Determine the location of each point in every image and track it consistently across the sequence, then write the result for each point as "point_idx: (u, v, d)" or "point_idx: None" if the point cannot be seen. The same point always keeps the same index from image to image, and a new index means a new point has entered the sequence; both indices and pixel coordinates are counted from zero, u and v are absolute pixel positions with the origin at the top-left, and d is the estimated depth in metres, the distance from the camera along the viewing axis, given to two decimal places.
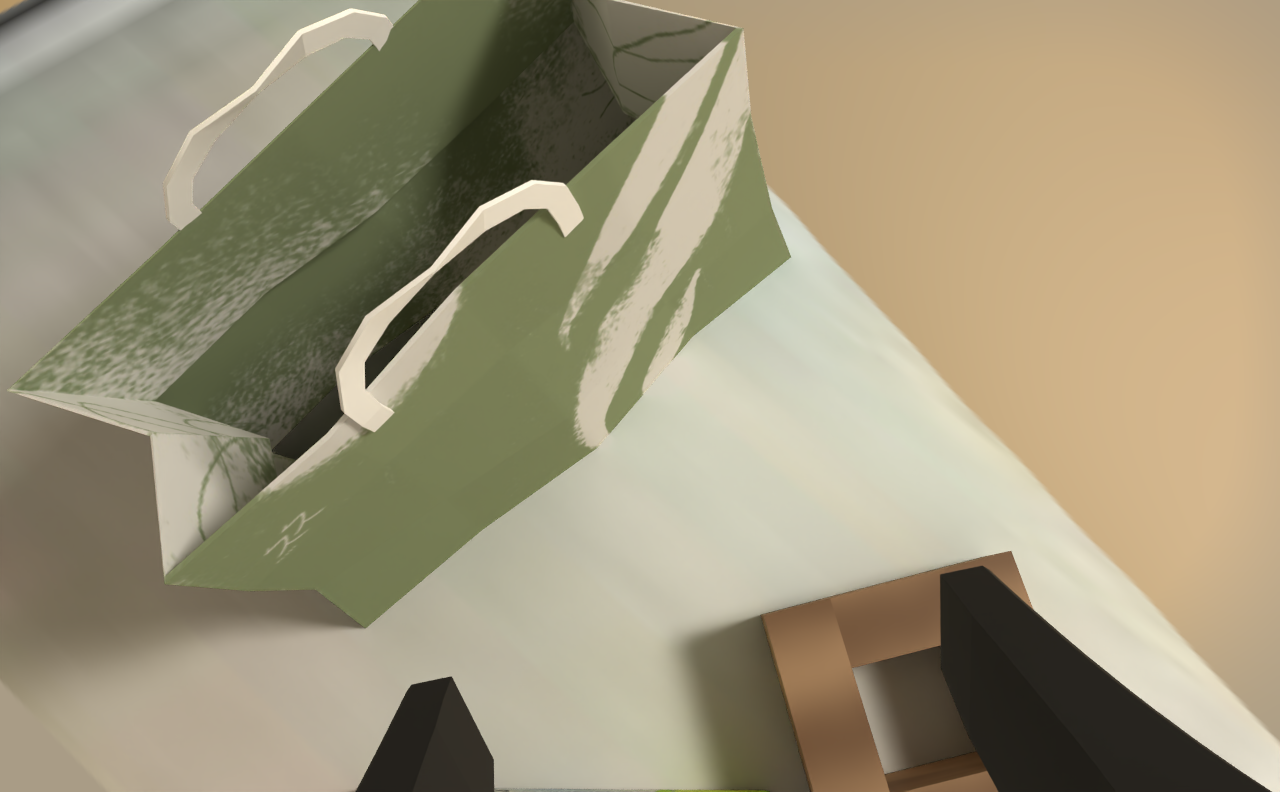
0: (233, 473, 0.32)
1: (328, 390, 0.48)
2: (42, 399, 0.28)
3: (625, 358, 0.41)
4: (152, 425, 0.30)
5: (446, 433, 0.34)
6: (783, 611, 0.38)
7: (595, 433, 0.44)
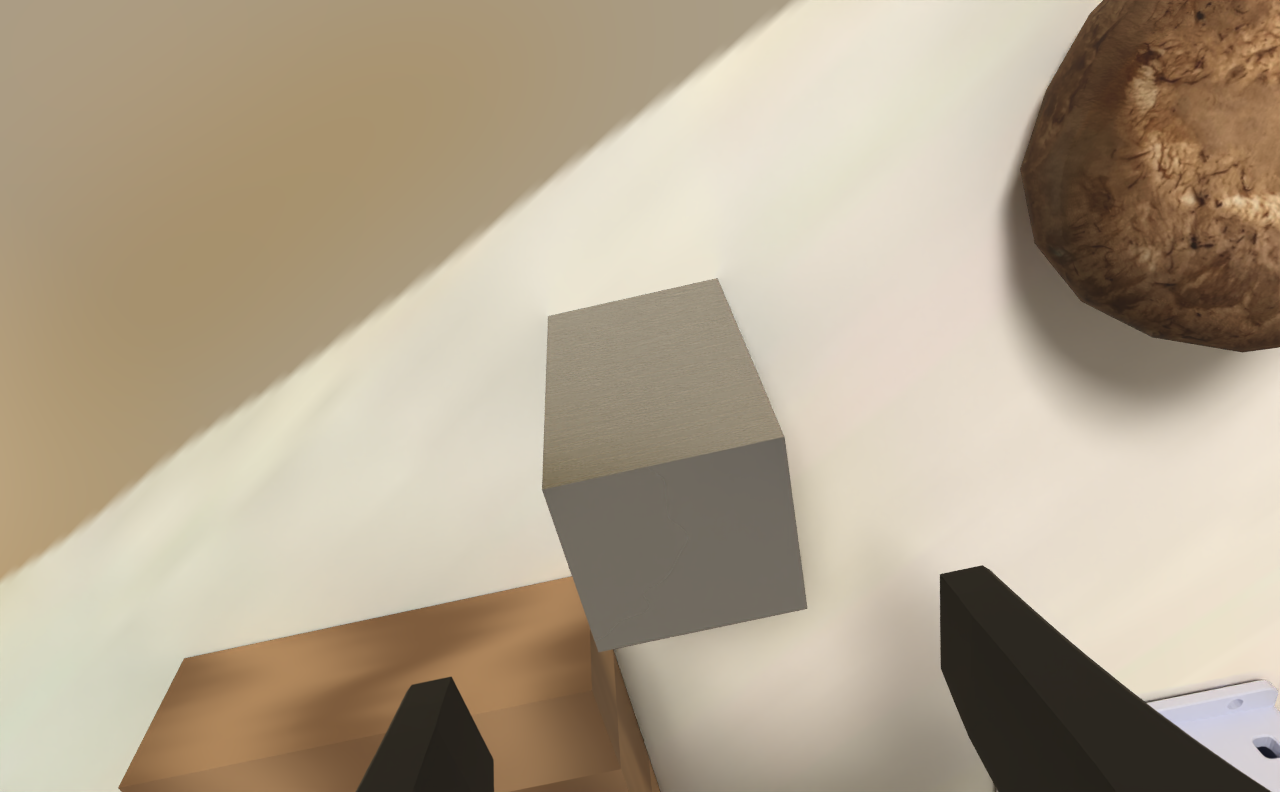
0: None
1: None
2: None
3: None
4: None
5: None
6: None
7: None
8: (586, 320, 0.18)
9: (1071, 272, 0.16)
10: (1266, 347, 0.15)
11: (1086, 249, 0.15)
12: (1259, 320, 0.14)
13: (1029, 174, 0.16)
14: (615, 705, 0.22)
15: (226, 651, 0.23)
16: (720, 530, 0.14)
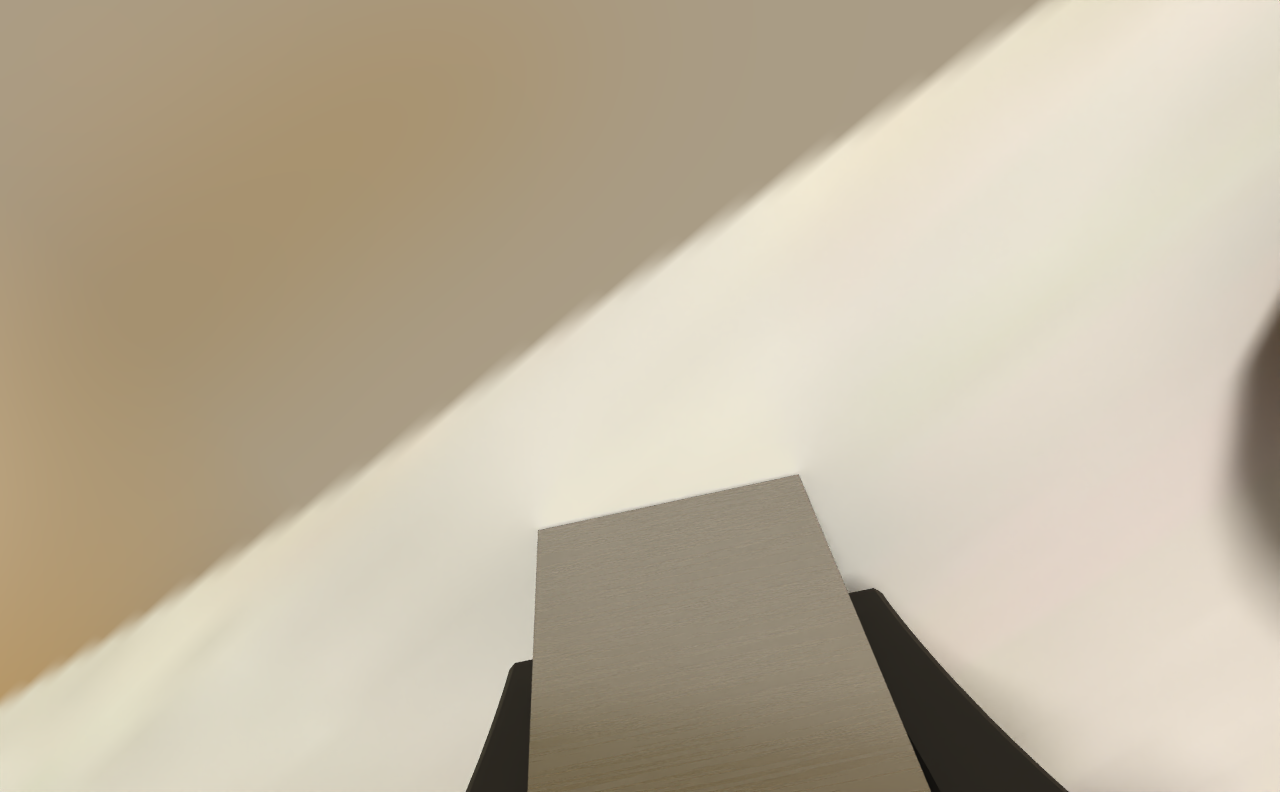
0: None
1: None
2: None
3: None
4: None
5: None
6: None
7: None
8: (597, 548, 0.11)
9: None
10: None
11: None
12: None
13: None
14: None
15: None
16: None
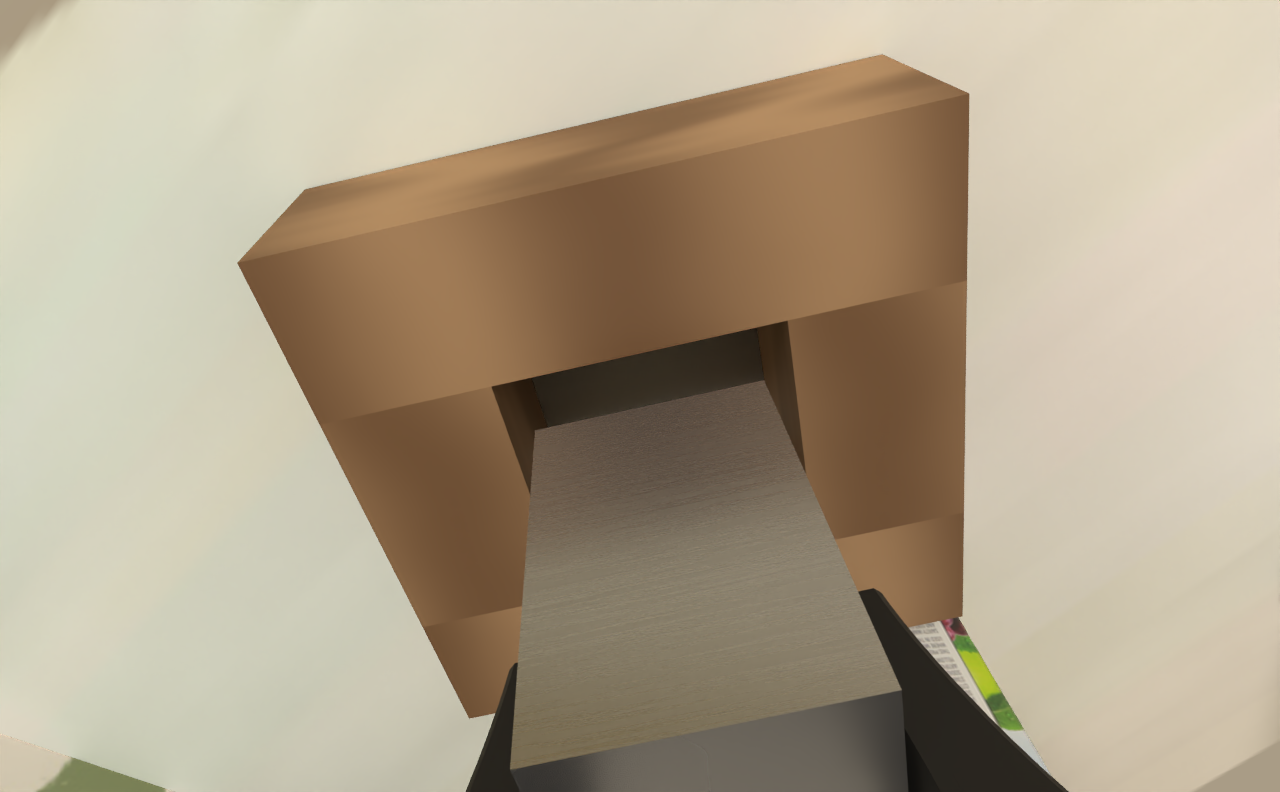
0: None
1: None
2: None
3: None
4: None
5: None
6: (459, 691, 0.19)
7: None
8: (586, 440, 0.13)
9: None
10: None
11: None
12: None
13: None
14: None
15: (365, 176, 0.16)
16: None
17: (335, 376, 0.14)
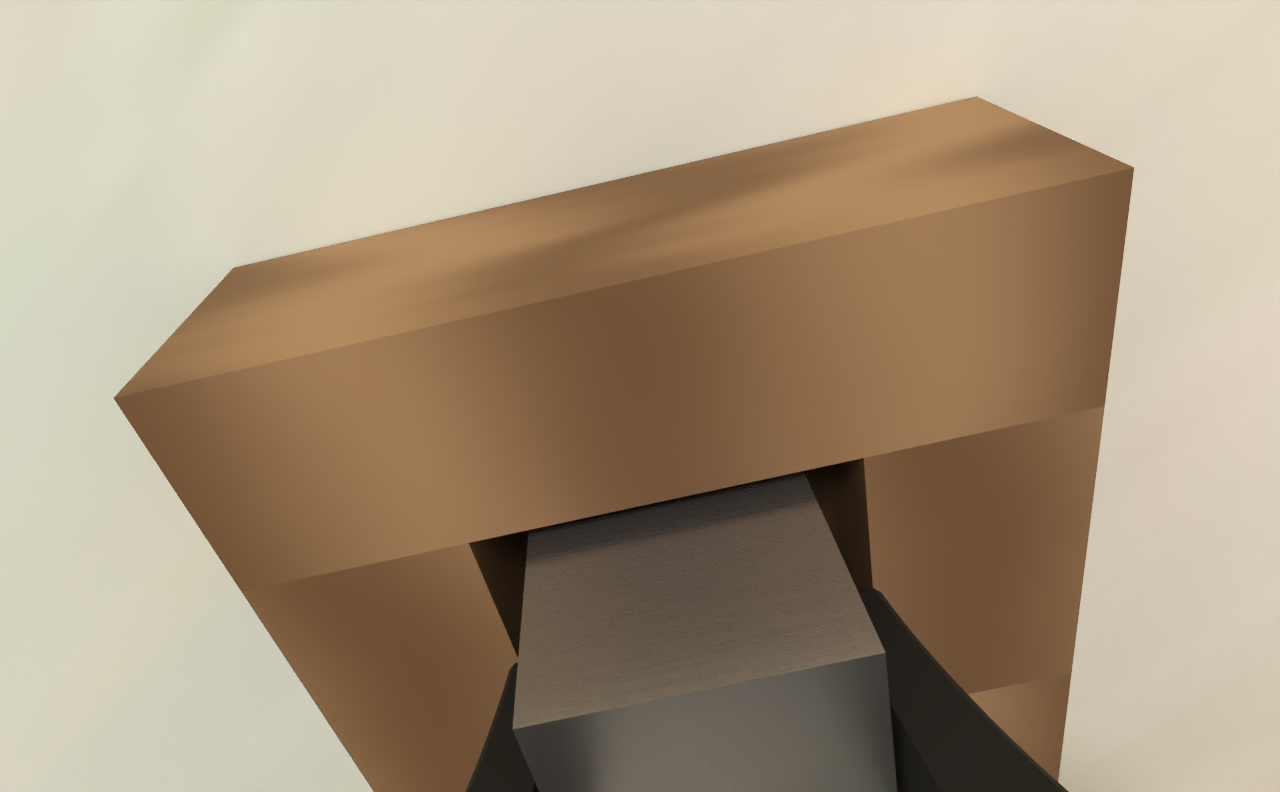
0: None
1: None
2: None
3: None
4: None
5: None
6: None
7: None
8: None
9: None
10: None
11: None
12: None
13: None
14: None
15: (310, 251, 0.13)
16: (782, 777, 0.09)
17: (259, 534, 0.11)
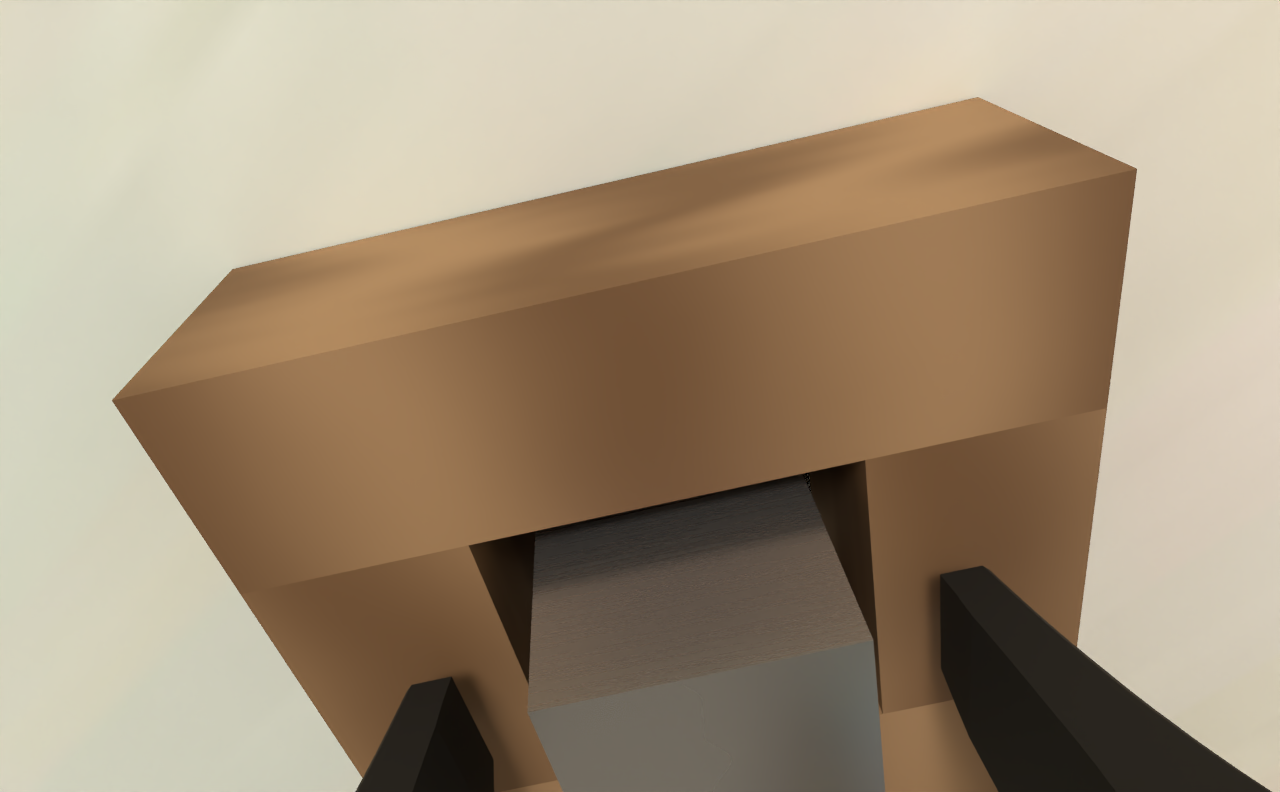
0: None
1: None
2: None
3: None
4: None
5: None
6: None
7: None
8: None
9: None
10: None
11: None
12: None
13: None
14: None
15: (310, 252, 0.13)
16: (776, 751, 0.10)
17: (258, 537, 0.11)
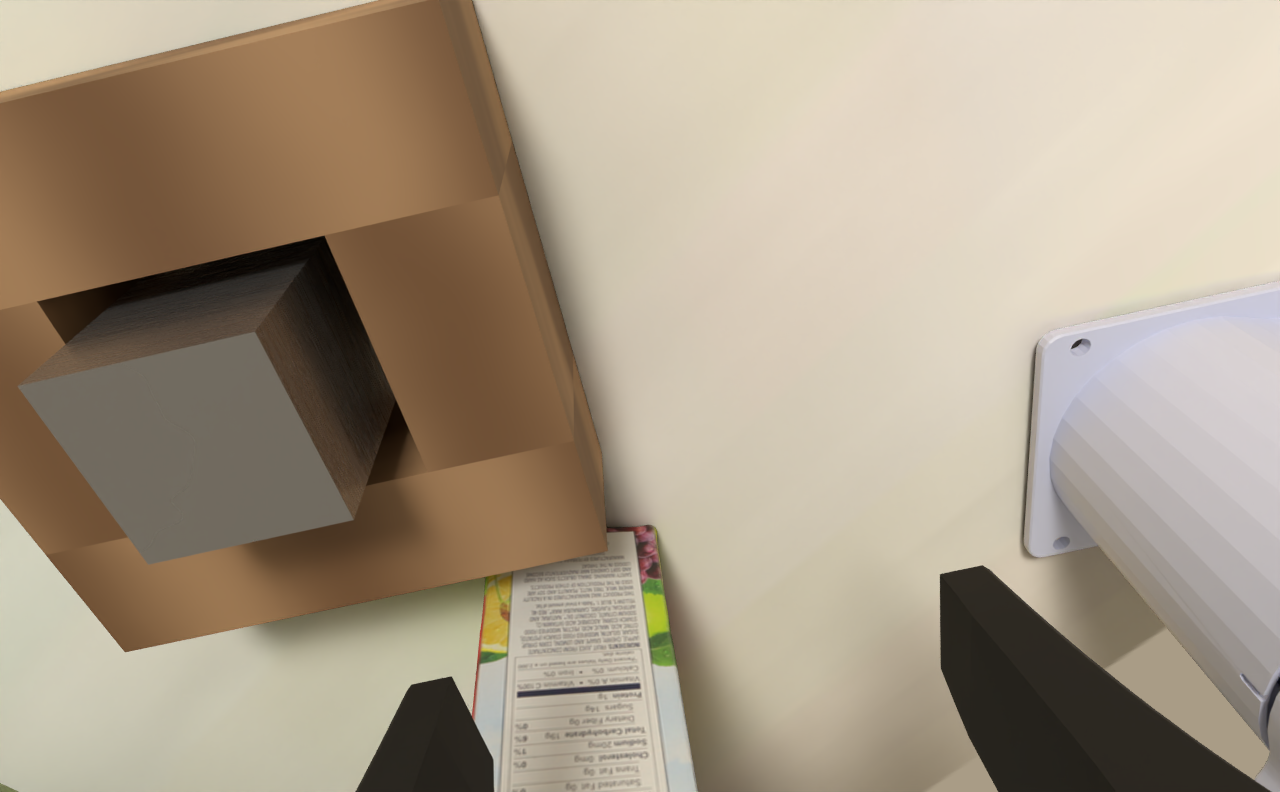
0: None
1: None
2: None
3: None
4: None
5: None
6: (106, 624, 0.19)
7: None
8: None
9: None
10: None
11: None
12: None
13: None
14: (502, 157, 0.16)
15: None
16: (226, 433, 0.14)
17: None
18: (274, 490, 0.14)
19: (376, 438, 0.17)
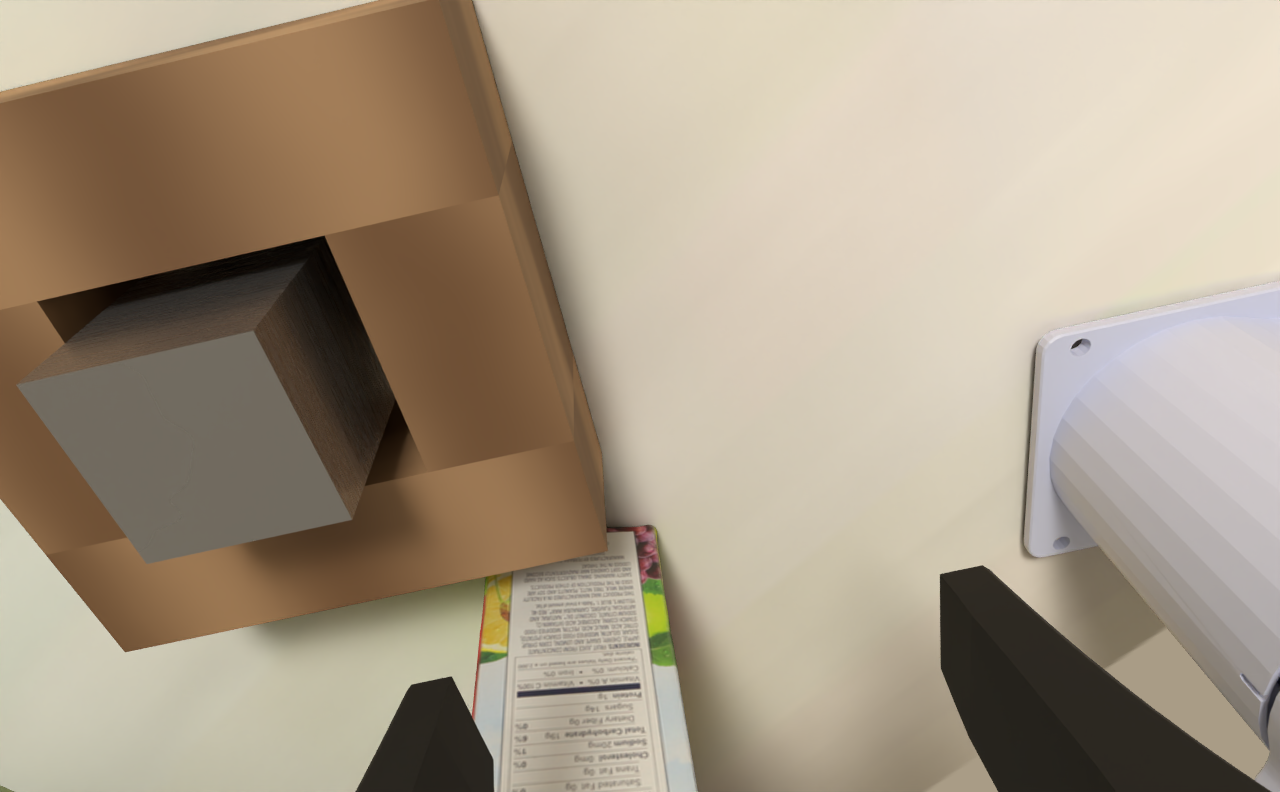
0: None
1: None
2: None
3: None
4: None
5: None
6: (106, 624, 0.19)
7: None
8: None
9: None
10: None
11: None
12: None
13: None
14: (502, 157, 0.16)
15: None
16: (224, 433, 0.14)
17: None
18: (272, 490, 0.14)
19: (375, 438, 0.17)
